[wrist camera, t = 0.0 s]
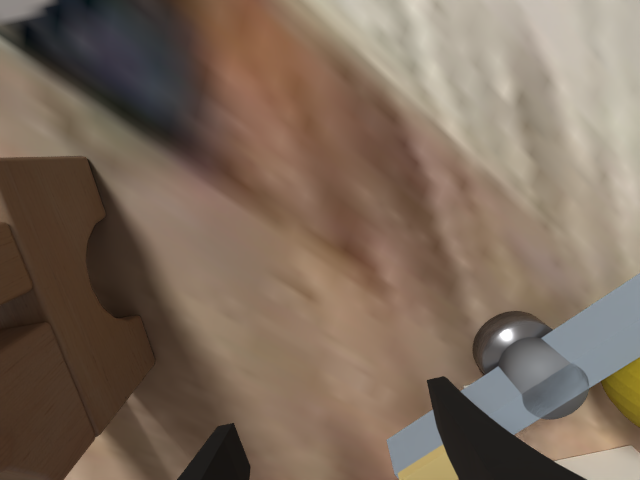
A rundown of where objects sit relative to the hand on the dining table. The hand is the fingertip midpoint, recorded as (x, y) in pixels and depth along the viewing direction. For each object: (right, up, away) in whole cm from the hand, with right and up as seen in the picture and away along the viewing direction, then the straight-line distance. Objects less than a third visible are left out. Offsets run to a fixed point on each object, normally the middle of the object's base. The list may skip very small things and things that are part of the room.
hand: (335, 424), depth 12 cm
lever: (+12, -1, +9) cm, 15 cm away
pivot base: (+12, 0, +11) cm, 16 cm away
